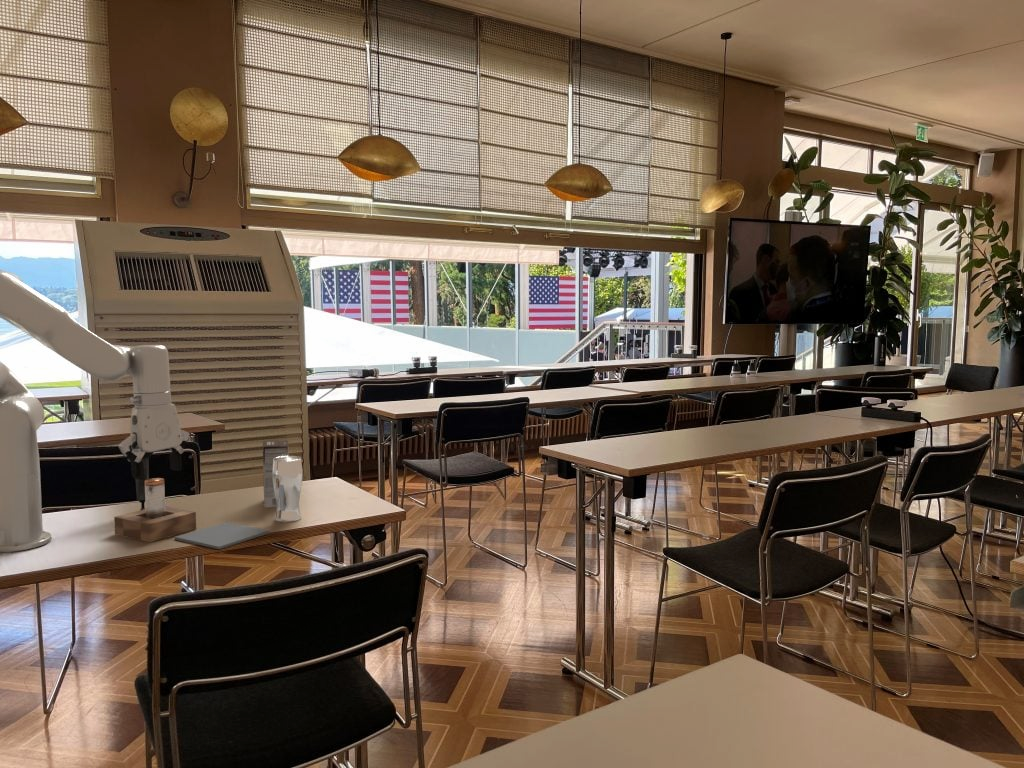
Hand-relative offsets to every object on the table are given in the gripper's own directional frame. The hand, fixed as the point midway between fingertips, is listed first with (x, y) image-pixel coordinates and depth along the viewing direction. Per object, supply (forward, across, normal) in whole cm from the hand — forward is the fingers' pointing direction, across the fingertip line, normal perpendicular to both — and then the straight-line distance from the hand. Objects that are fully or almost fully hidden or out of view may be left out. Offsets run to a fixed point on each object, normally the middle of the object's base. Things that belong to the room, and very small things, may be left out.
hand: (157, 474), depth 171 cm
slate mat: (+14, +4, -15) cm, 21 cm away
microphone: (+13, +8, +18) cm, 24 cm away
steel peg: (+13, -1, +1) cm, 13 cm away
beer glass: (+14, +22, -17) cm, 31 cm away
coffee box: (+14, +32, -3) cm, 35 cm away
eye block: (+13, -1, +1) cm, 13 cm away
